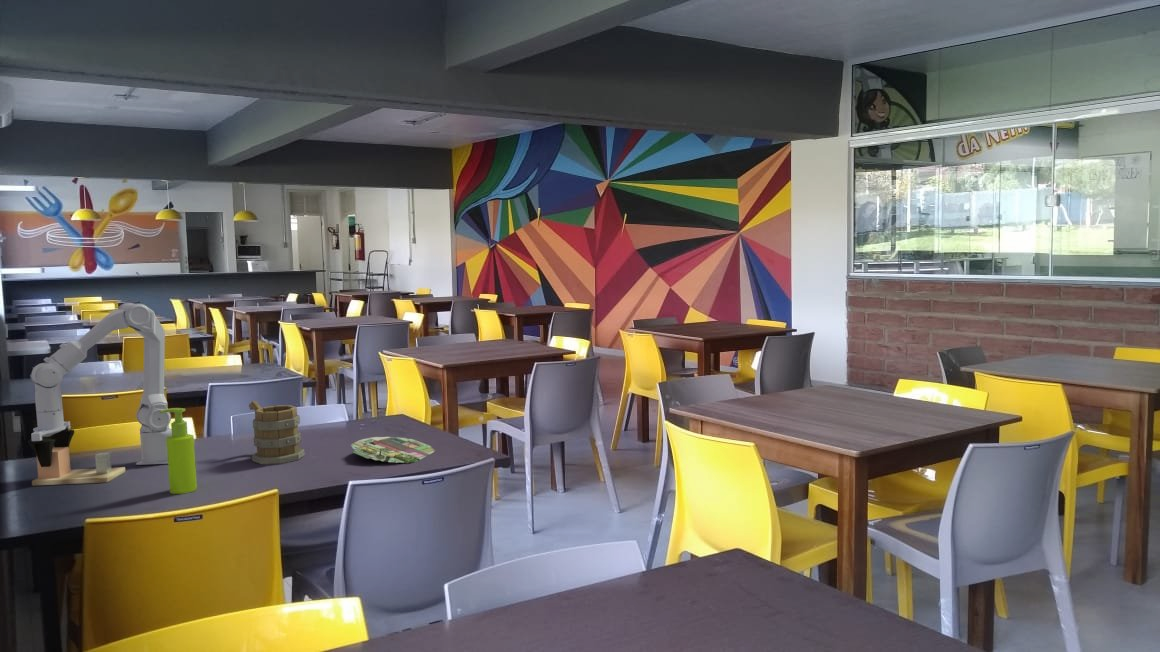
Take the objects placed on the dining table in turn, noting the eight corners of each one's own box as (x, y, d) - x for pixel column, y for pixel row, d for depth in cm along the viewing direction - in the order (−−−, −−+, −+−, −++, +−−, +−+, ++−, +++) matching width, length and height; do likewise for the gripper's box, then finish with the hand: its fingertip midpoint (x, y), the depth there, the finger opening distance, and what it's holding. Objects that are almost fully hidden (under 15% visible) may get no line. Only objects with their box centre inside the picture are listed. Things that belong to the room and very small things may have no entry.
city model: (415, 476, 216) (417, 454, 215) (332, 463, 220) (333, 440, 220) (449, 455, 240) (450, 434, 240) (373, 443, 245) (375, 423, 244)
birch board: (125, 471, 219) (125, 467, 219) (107, 482, 209) (107, 477, 209) (53, 474, 218) (53, 470, 218) (32, 485, 208) (31, 480, 208)
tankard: (311, 457, 230) (308, 404, 229) (267, 466, 221) (264, 411, 219) (276, 446, 244) (273, 396, 242) (234, 455, 234) (230, 402, 233)
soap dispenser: (171, 487, 203) (165, 406, 201) (200, 486, 204) (195, 405, 202) (161, 494, 197) (155, 411, 195) (191, 493, 198) (185, 410, 196)
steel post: (111, 471, 215) (110, 452, 215) (107, 473, 213) (105, 454, 212) (101, 471, 215) (99, 452, 215) (96, 474, 213) (94, 455, 212)
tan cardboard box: (70, 471, 216) (68, 446, 215) (59, 477, 210) (57, 451, 210) (49, 472, 215) (47, 447, 215) (38, 478, 210) (36, 452, 209)
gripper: (48, 405, 218) (53, 456, 219) (16, 416, 204) (21, 470, 205) (76, 404, 219) (81, 455, 220) (46, 415, 204) (51, 469, 206)
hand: (54, 462), depth 213 cm, fingers open, 7 cm apart
